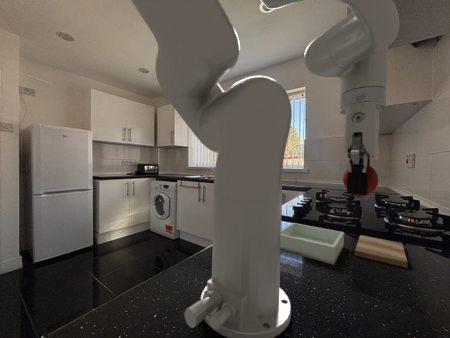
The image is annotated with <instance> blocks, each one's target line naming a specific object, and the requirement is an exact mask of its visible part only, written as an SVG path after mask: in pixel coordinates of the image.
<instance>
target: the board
mask: <svg viewBox="0 0 450 338" xmlns="http://www.w3.org/2000/svg"><path fill="white" fill-rule="evenodd" d="M354 256H356V257H361V258H366V259H369V260H373V261H377V262H381V263H386V264H388V265H393V266H397V267H402V268H406V269H408V259H407V256H406V252H405V248H404V245H403V243H402V242H398V241H393V240H387V239H383V238H377V237H372V236H366V235H362V234H360V235H359V237H358V241H357V243H356V246H355V249H354Z"/></svg>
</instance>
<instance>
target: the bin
mask: <svg viewBox="0 0 450 338" xmlns="http://www.w3.org/2000/svg"><path fill="white" fill-rule="evenodd" d="M344 239H345V232H344V231H338V230H333V229H329V228H328V229H327V228H323V227H316V226H311V225H307V224H301V223H295V222H292V223H290V224H289V225H287V226H286V227H284V228H281V246H280V249H282V250H281V251H283V250H284V252H287V253H290V254H295V255H298V256H302V257H306V258H307V259H308V258H309V259H311V260H312V259H313V260H315V261H319V262H321V263H322V262H323V263H326V264H329V265H332V266H334V265H335V264H336V262H337V260H338V258H339V256H340V254H341V252H342V250H343V248H344V246H345V245H344V243H345V241H344Z"/></svg>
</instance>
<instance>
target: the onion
mask: <svg viewBox="0 0 450 338" xmlns="http://www.w3.org/2000/svg"><path fill="white" fill-rule="evenodd" d="M362 164H363V163H362ZM347 173H348V168H346V170H345V171H344V174H343V177H342V183H343V184H344V187H345V188H346V189H347ZM366 173H367V174H368V194H367V195H355V194H353V196H354V197H355V198H357V199H362V198H364V197H367V196H368V195H370V194H372V192H374V191H375V190H376V189H377V187H378V186H379V175H378V174H377V171H376V170H375V169H374V168H373V167H372V166H371V164H370V165H368V164H367V171H366Z"/></svg>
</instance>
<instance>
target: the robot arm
mask: <svg viewBox="0 0 450 338" xmlns="http://www.w3.org/2000/svg"><path fill="white" fill-rule="evenodd" d="M130 1H131V2H132V4H133V6H134V7H135V9H136V10H137V12H138V14H139V15H140V17H141V18H142V20H143V22H144V23H145V24H146V25H147V27H148V29H149V31H150V32H151V34H152V35H153V36H154V38H155V41H156V43H157V47H158V49H157V54H156V60H155V75H156V79H157V82H158V84H159V87H160V89H161V91H162V93H163V94H164V96H165V97H166V99H167V101H168V102H169V103H170V104H171V105H172V107H173V108H174V110H175V111H176V112H177V113H178V115H179V116H180V117H181V119H182V120H183V121H184V122H185V124H186V125H187V127H189V129H190V130H191V132H192V133H193V134H194V136H195V137H196V138H197V139H198V140H199V142H200V143H201V144H203V146H205V147H206V149H208V150H210V151H211V152H214V153H217V157H216V162H215V168H214V175H213V212H212V213H213V214H212V215H213V217H212V250H211V251H212V252H211V253H212V260H211V278H210V279H208V280H207V281H206V282H207V283H206V286H205V287H204V288H203V290H202V292H201V295H200V300H197V301H196V302H194V303H193V304H191V305H190V306H189V307H188V308H186V309H185V311H184V319H185V322H186V325H187V326H189V327H190V328H193V329H194V328H195V327H196V326H198V325H199V324H200V323H201V322H203V321H204V322H205V323H206V324H207V325H208V326H209V327H210V329H211V328H212V330H214V331H215V332H217V333H218V334H220V335H222V336H223V337H226V338H276V337H277V336H278V335H280V334H282V333H283V332H284V331H285V330H286V329H287V327H288V326H289V325H290V321H291V318H292V317H291V316H292V306H291V304H292V303H291V300H290V299H289V296H288V295H287V294H286V292H285V291H284V290H283V289H282V288H281V287H280V286H281V285H280V283H281V282H280V280H281V279H280V278H281V277H280V276H281V250H280V246H281V230H282V204H283V203H282V201H283V198H282V196H283V195H282V190H283V172H284V171H283V170H284V160H285V155H286V154H285V153H286V148H287V144H288V139H289V135H290V131H291V126H292V118H293V117H292V116H293V112H292V104H291V100H290V97H289V95H288V93H287V90H286V89H285V88H284V87H283V85H281V83H279V82H278V81H277V80H275V79H273V78H271V77H269V76H265V75H264V76H263V75H253V76H249V77H245V78H243V79H241V80H239V81H237V82H235V83H234V84H232V85H230V87H228V88H227V89H225V90H224V89H223V88H222V87H221V85H220V82H222V81H223V80H224V79H225V78H226V77H227V76H228V75H229V73H231V71H232V70H233V68H234V67H235V66H236V64H237V62H238V60H239V57H240V51H241V47H240V46H241V45H240V40H239V37H238V33H237V31H236V29H235V27H234V25H233V24H232V22H231V20H230V18H229V16H228V14H227V12H226V11H225V8H224V7H223V5H222V4H221V2H220V0H130ZM260 1H261V3H262V4H263V5H264V6H265V7H266V8H267V9H269V10H276V9H280V8H282V7H285V6H289V5H292V4H296V3H300V2H303V1H304V0H260ZM337 1H338V2H341V3H342V4H344V5H345V6H347V7H348V8H349V9H350V10H351V11H352V12H351V13H350V14H348V15H347V16H346V17H344V18H343V19H341V20H339V21H337V23H335V24H334V25H332V26H331V27H330V28H328V29H327V30H326V31H324V32H323V33H322V34H320V35H318V36H317V37H315V38H314V39H313V40H312V41H311V42H310V43H309V44H308V46H307V47H306V49H305V51H304V55H303V58H304V59H303V60H304V65H305V67H306V69H307V70H308V71H309V72H310V73H312V74H313V75H316V76H317V77H322V78H338V79H340V101H339V102H340V103H339V104H340V105H339V107H340V108H339V113H340V114H341V115H344V116H345V121H344V122H345V124H344V155H345V157H346V158H348V167H347V169H348V173H347V188H346V194H348V195H354V194H355V195H366V196H368V195H369V194H368V174H367V173H366V171H367V164H368V165H370V166H371V158H372V159H373V160H374V161H375V160H376V161H377V160H378V159H380V157H379V156H380V152H379V151H380V113H379V112H380V111H383V110H384V109H386V108H387V75H388V73H387V72H388V70H387V69H388V47H389V46H390V45H392V44H393V42H394V41H395V39H396V38H397V36H398V33H399V31H400V15H399V12H398V9H397V6H396V3H395V1H394V0H337ZM362 163H363V164H362ZM367 194H368V195H367Z"/></svg>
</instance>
